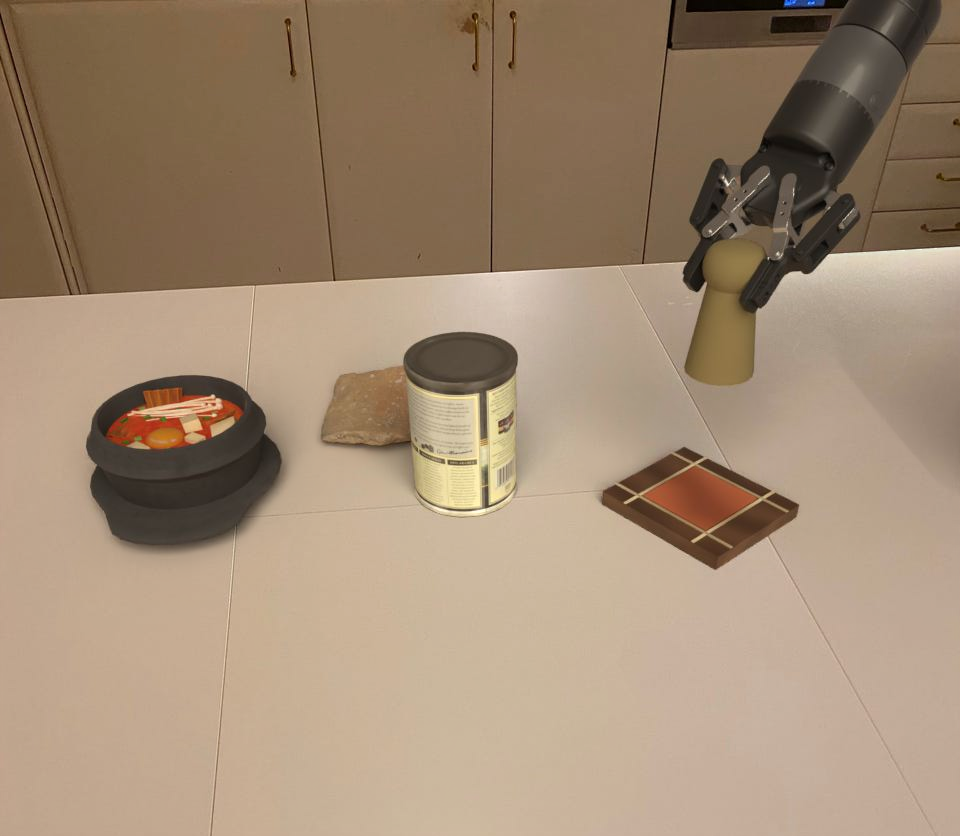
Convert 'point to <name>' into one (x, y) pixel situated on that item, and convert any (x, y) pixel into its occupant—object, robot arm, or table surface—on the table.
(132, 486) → the casserole
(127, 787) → the table surface
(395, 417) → the stone
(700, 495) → the grid board
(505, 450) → the coffee can
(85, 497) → the table surface
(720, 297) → the pawn
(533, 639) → the table surface
